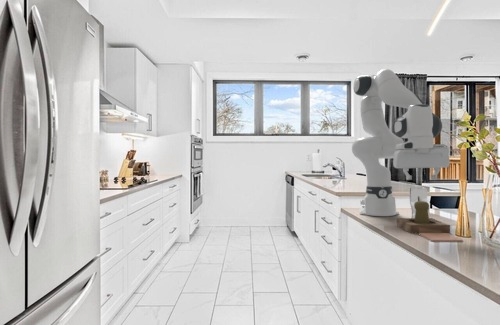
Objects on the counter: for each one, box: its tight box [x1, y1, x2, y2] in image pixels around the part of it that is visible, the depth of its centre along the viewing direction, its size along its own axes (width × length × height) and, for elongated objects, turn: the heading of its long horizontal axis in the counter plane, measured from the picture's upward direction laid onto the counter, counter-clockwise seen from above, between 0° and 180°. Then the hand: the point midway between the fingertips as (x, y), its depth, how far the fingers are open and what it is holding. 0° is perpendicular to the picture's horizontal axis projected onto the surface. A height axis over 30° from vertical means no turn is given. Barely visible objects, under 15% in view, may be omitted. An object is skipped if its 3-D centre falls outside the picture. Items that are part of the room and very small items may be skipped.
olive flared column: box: [414, 201, 430, 224], centre depth 125 cm, size 6×6×11 cm
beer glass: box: [408, 186, 428, 218], centre depth 140 cm, size 7×7×15 cm
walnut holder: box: [396, 217, 451, 234], centre depth 125 cm, size 14×14×3 cm
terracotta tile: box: [418, 233, 464, 243], centre depth 112 cm, size 10×10×1 cm
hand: (421, 179), depth 125 cm, fingers open, 8 cm apart
